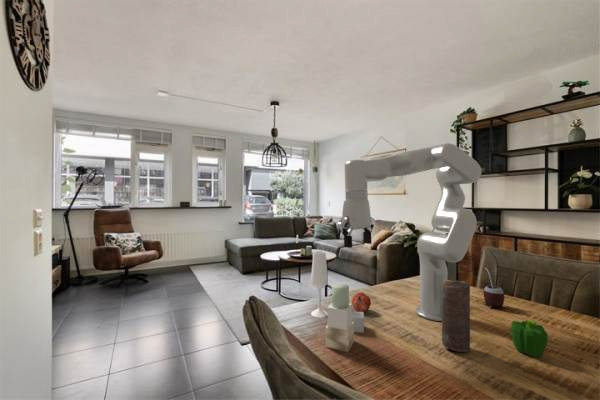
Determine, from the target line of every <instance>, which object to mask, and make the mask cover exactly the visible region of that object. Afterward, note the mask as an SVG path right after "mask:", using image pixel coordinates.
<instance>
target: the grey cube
mask: <svg viewBox="0 0 600 400" xmlns="http://www.w3.org/2000/svg"><path fill="white" fill-rule="evenodd" d="M364 313H365V312H361V311H356V310H355V311H353V310H352V322H354V333H363V334H364V333H365V314H364Z"/></svg>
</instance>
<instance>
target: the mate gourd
mask: <svg viewBox="0 0 600 400" xmlns="http://www.w3.org/2000/svg"><path fill="white" fill-rule="evenodd" d="M484 268H485V270H486V271H487V272H486V273H488V274H487V275H488V277H489V281H490V285H487V286H485V287H484V289H483V298H484V306H487V307H489V309H490V310H493V309H495V308H496V309H499V310H504V308H503V307H504V303H505V298H506V297H505V293H504V290H503V289H502V288H501V287H500V286H496V285H494V284H493V281H492V276H491V275H492V274H491V273H490V271H489V270H488V268H487V267H484Z"/></svg>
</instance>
